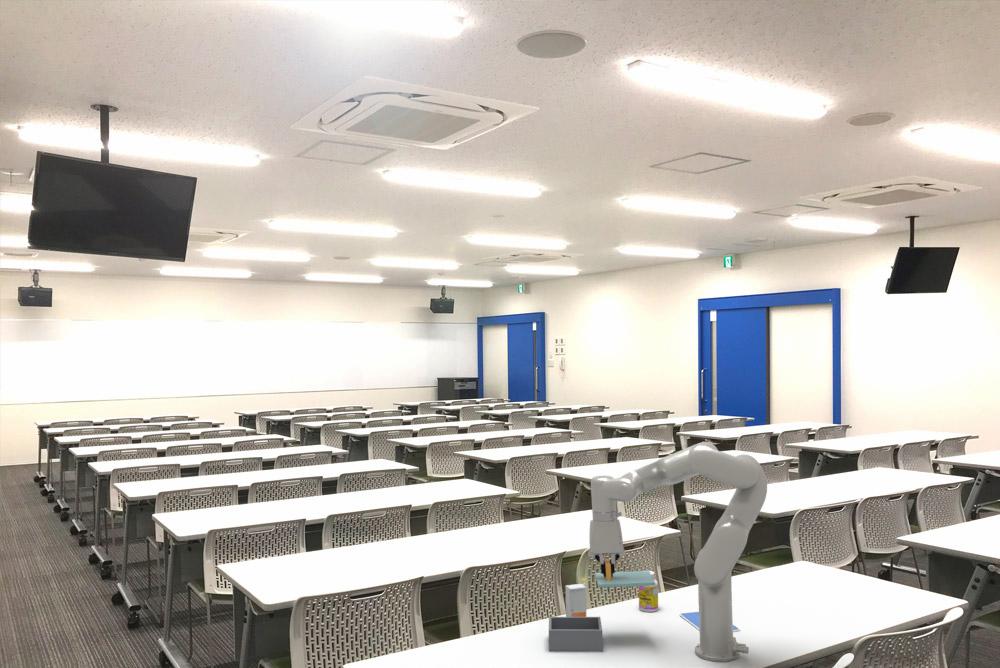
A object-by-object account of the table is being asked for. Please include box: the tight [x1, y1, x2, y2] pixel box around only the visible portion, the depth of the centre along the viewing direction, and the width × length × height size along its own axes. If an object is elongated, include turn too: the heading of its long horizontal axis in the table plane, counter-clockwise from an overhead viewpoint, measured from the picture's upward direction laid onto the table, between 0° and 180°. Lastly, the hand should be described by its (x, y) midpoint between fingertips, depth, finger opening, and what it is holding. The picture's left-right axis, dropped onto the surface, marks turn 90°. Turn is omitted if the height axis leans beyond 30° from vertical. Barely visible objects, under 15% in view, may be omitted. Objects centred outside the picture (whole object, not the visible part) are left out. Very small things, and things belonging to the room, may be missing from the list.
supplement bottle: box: [638, 570, 659, 613], centre depth 265 cm, size 7×7×13 cm
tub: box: [548, 616, 604, 653], centre depth 233 cm, size 16×12×7 cm
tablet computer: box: [679, 611, 741, 633], centre depth 250 cm, size 19×13×1 cm, turn 12°
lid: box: [595, 558, 655, 588], centre depth 236 cm, size 17×13×6 cm
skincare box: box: [564, 583, 587, 617], centre depth 254 cm, size 6×4×12 cm
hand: (608, 575), depth 236 cm, fingers closed on lid, 1 cm apart
